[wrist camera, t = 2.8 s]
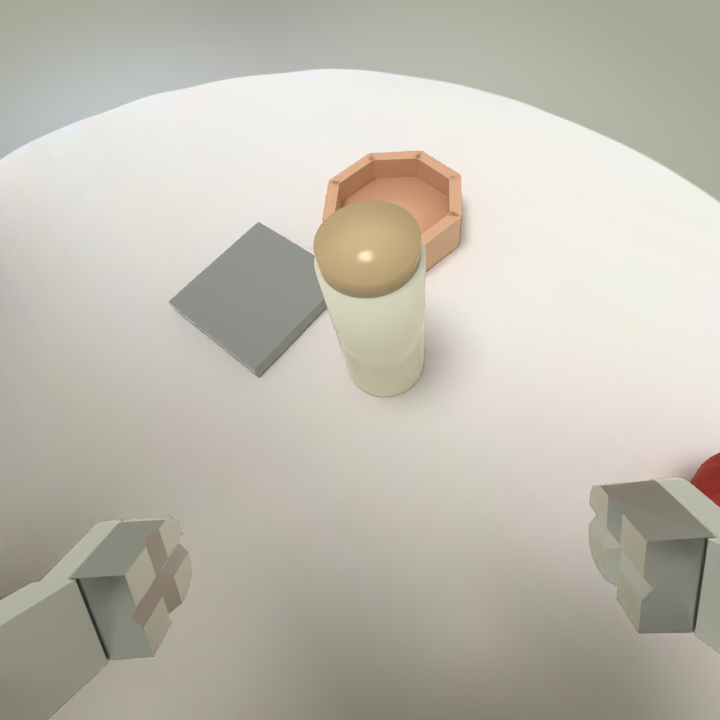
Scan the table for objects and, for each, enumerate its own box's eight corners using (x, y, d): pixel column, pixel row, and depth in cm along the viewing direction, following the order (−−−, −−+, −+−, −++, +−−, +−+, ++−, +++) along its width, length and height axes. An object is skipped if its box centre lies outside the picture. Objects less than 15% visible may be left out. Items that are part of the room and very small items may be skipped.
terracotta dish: (307, 229, 33) (299, 200, 31) (398, 166, 35) (396, 134, 33) (389, 300, 29) (386, 274, 27) (485, 224, 31) (491, 194, 29)
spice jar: (332, 360, 28) (286, 241, 18) (388, 316, 29) (372, 180, 19) (382, 412, 26) (359, 309, 16) (439, 362, 27) (451, 237, 17)
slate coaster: (175, 309, 31) (168, 301, 30) (262, 231, 34) (258, 221, 33) (259, 377, 28) (253, 370, 27) (348, 284, 30) (346, 275, 29)
